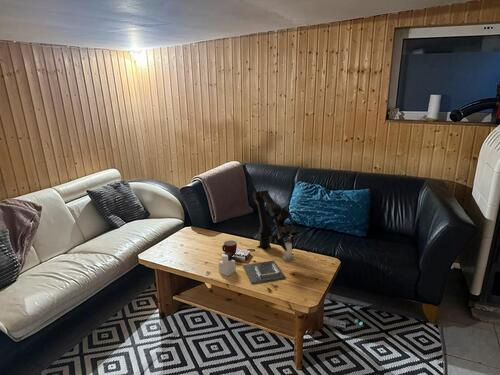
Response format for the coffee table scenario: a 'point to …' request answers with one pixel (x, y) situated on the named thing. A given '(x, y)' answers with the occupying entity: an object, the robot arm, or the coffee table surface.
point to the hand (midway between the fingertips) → (289, 250)
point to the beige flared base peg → (288, 253)
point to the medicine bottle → (227, 264)
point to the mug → (230, 247)
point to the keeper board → (263, 272)
